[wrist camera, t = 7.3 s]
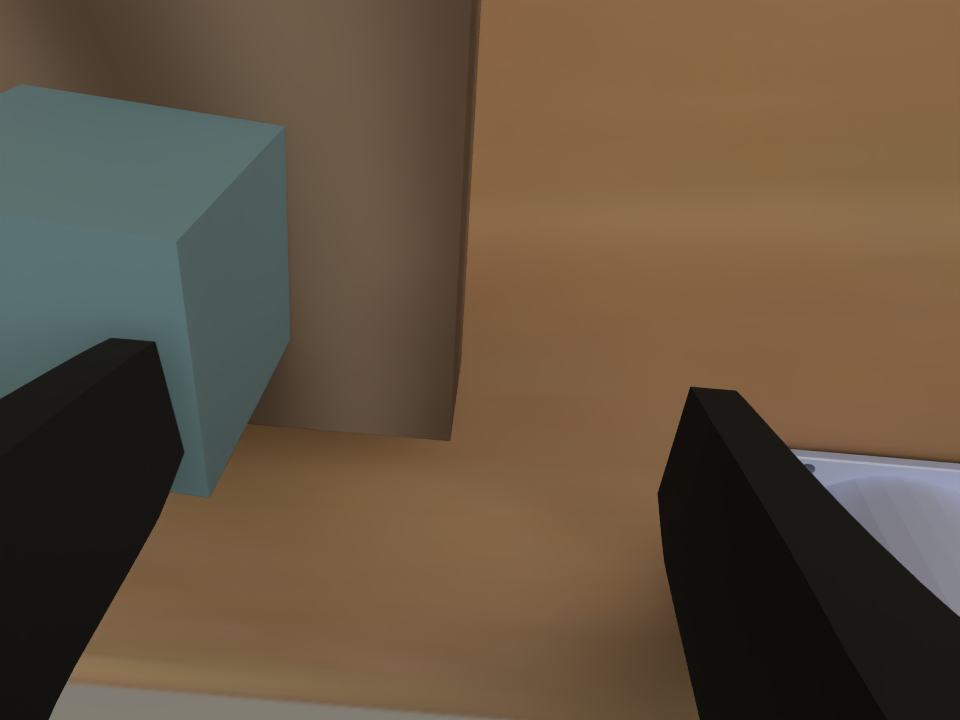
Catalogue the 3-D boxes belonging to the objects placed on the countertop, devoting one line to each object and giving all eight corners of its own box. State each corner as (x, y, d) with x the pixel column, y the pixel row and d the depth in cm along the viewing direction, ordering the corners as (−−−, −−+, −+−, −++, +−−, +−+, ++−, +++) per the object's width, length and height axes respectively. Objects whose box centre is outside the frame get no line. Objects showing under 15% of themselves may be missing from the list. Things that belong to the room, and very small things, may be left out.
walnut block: (489, -130, 14) (476, -124, 11) (462, 351, 21) (449, 441, 18) (-96, -174, 14) (-280, -182, 11) (72, 318, 21) (-9, 401, 18)
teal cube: (285, 126, 13) (176, 241, 9) (290, 338, 16) (209, 497, 12) (22, 84, 13) (-205, 182, 9) (75, 306, 16) (-79, 456, 12)
